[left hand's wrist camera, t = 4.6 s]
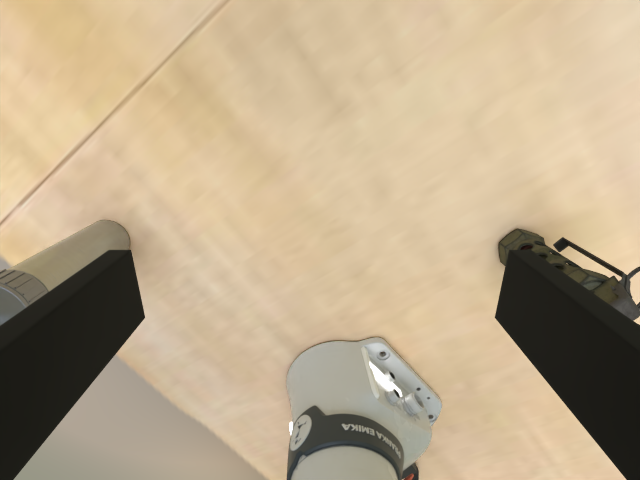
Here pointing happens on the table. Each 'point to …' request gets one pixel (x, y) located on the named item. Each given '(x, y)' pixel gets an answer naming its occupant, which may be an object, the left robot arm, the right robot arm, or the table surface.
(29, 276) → the lid
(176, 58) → the table surface
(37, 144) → the table surface
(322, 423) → the right robot arm
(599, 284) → the grenade
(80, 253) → the metal thermos flask
